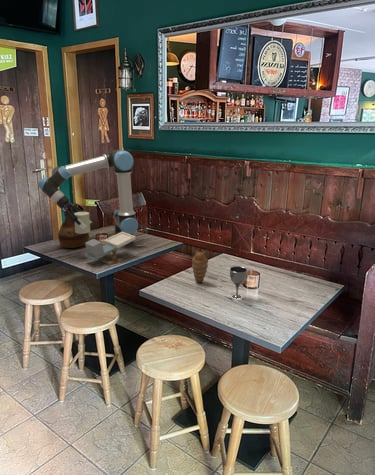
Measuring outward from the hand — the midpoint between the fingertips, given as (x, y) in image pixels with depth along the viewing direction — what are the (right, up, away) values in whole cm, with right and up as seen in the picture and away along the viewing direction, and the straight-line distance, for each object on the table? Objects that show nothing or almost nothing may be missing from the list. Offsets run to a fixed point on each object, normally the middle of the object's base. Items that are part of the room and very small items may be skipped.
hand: (87, 225), depth 229 cm
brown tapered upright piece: (+68, -32, -28) cm, 80 cm away
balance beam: (+14, -14, +1) cm, 20 cm away
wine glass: (+86, -37, -44) cm, 103 cm away
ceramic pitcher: (-16, -13, +28) cm, 35 cm away
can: (-3, -4, +2) cm, 5 cm away
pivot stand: (+13, -21, +2) cm, 25 cm away
